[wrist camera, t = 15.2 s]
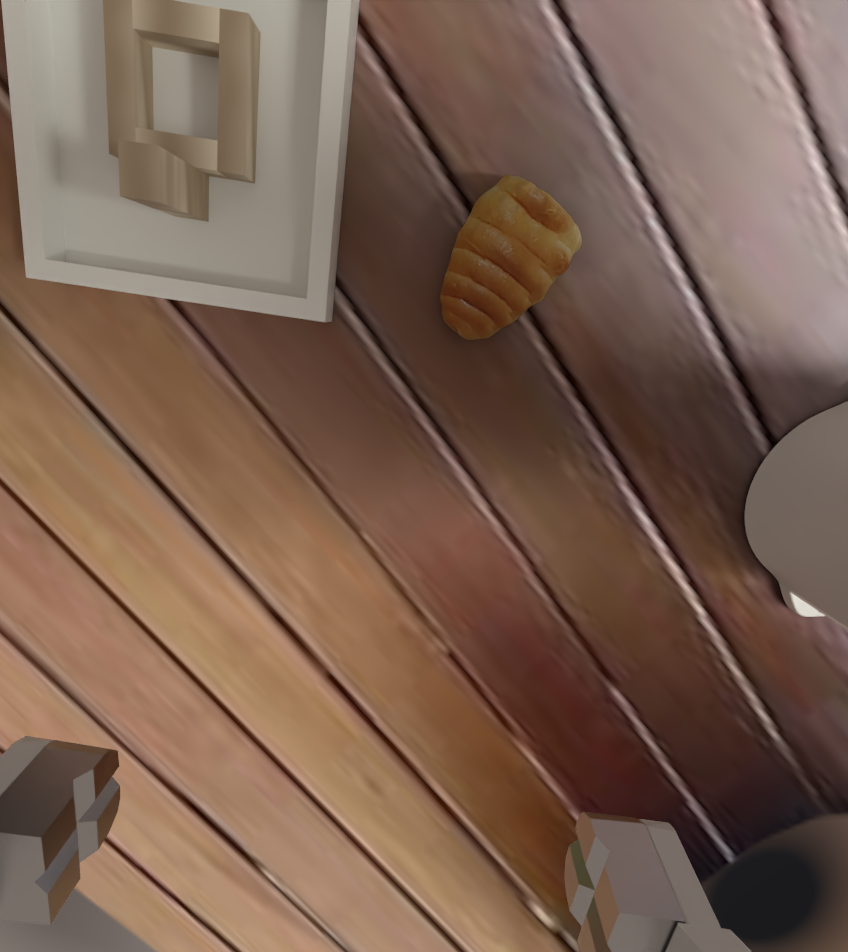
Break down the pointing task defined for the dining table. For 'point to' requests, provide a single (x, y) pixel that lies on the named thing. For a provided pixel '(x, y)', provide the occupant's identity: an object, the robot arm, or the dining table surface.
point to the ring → (131, 102)
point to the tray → (193, 114)
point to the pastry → (506, 257)
